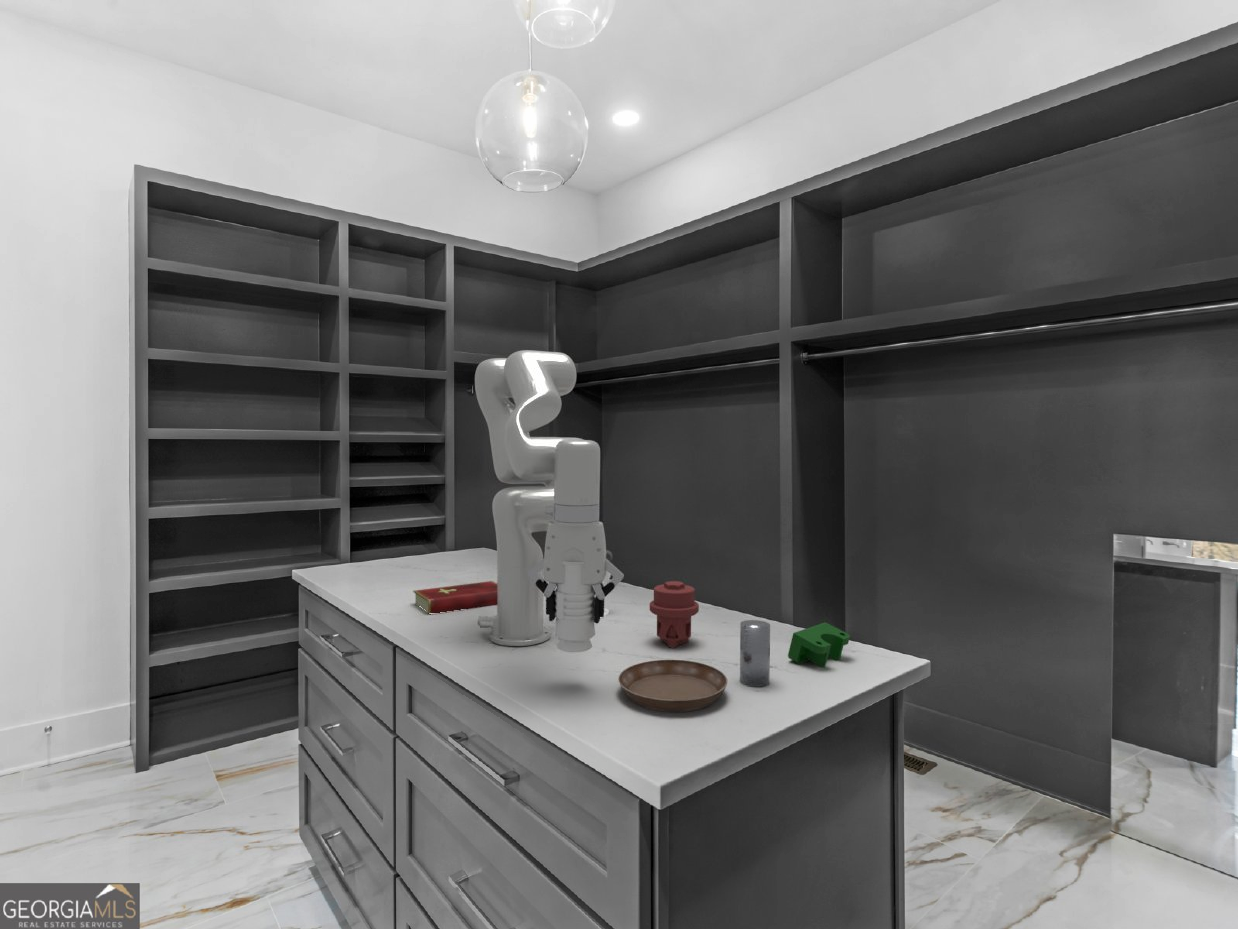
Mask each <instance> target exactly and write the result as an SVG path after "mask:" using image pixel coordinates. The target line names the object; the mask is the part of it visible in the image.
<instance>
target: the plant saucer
mask: <svg viewBox="0 0 1238 929" xmlns="http://www.w3.org/2000/svg"><path fill="white" fill-rule="evenodd" d="M617 680H618V683H619V685H620V687H621V688H622V690H623V691H624V692H625V694H626V695H627V696H628V697H629V698H630V699H631V701H632V702H634V703H636V704H637V705H639V706H641V707H643V708H647V709H650V710H655V711H658V712H659V711H660V712H667V713H668V712H669V713H684V712H685V713H686V712H693V711H697V710H698V711H699V710H701V709H704V708H706V707H708V706H710V705H712V704H713V703H714V702H716V700H718V699H719V698H720V696H721V695H722V694H723V693H724V692H725V689H726V687H727V685H728V678H727V676H726V674H724V672H722V671H721V670H719V669H718V668H715V667H713V666H712V665H708V664H705V663H701V662H697V661H692V660H684V659H655V660H649V661H648V660H647V661H644V662H640V663H637V664H633V665H630V666H629V667H627V668H624V669H623V670H622V671H621V673H619V675H618V679H617Z"/></svg>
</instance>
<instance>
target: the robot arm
mask: <svg viewBox="0 0 1238 929" xmlns="http://www.w3.org/2000/svg"><path fill="white" fill-rule="evenodd" d="M576 369H577V368H576V364H575V362H574V361H573V359H572V358H571V357H570V356H569V355H567V354H566V353H564V352H560V351H559V352H558V351H546V350H545V351H543V350H530V349H529V350H528V349H526V350H525V349H523V350H518V351H515V352H513V353H511V354H510V355H509V356H508V357H507V358H506V357H494V358H489V359H485V360H482V361H481V362H480V363H479V364H478V365H477V367H476V370H475V374H474V388H475V394H476V399H477V402H478V405H479V408H480V410H481V413H482V414H483V416H484V419H485V421H486V424H487V428H488V432H489V433H488V434H489V441H490V448H491V456H492V463H493V469H494V473H495V475H496V478H497V479H498V480H499V481H500V482H501V483H503V484H504V483H505V484H511V485H518V486H510V487H505V488H502V489H501V490H499V491H498V492H497V493H496V494H495V495H494V497H493V499H492V507H491V508H492V517H493V522H494V529H495V538H496V570H497V572H496V574H497V575H496V577H497V578H496V583H497V605H496V606H497V607H496V612H497V613H496V614H495V615H493V616H484V615H483V616H482V615H481V616H478V618H477V625H478V626H479V627H480V629H488V628H490V629H491V631H490V632H489V640H490V641H491V642H492V643H495V644H497V645H501V646H508V647H527V646H533V645H537V644H538V645H539V644H540V643H541V644H542V643H545V642H546V641H548V640H549V639H550V638H551V632H552V631H551V629H550V628H548V627H547V626H544V597H545V615H547V616H548V621H549V622H553V621H555V620H556V616H555V610H556V609H555V604H556V602H555V597H556V595H555V590H556V589H557V584H563V583H565V567H564V566H565V565H564V564H562V561H578V562H585V564H583V565H581V567H582V568H581V570H580V579H581V584H583V585H592V587H593V589H594V591H595V593H596V598H595V600H594V624H599V622H600V620H601V618H600V617H602V618H604V608H605V598H606V597H607V596H608V595H609V594H611V592H612V591H613V590H614V589H615V588H616V587H617V586H618V584H619V583H621V581H622V580H623V579H624V576H625V575H624V573H623V572H622V571H621V570H620V569H619V568H617V566H615V565H614V564H613V563H612V562H611V561H609V560H607V559H606V550H607V546H606V545H607V544H606V543H607V542H606V534H605V528H604V523H603V522H602V521H600V483H601V448H600V445H599V443H598V442H596V441H595V440H591V439H587V440H586V439H583V438H579V437H563V436H562V437H558V436H530V432H532V431H534V430H537V429H538V428H541V427H543V426H546V425H547V424H550V422H553V421H554V420H555V419H556V418H557V417H558V415H559V414H560V412H561V409H562V398H561V397H562V396H565V395H568V394H569V393H570V392H572V391H573V389H574V388H575V385H576V383H577V370H576ZM509 398H512V400H513V402H514V403H513V402H511V401H510V399H509ZM525 484H531V485H529V486H528V485H526V486H525ZM532 484H534V485H532ZM535 484H543V485H541V486H540V485H535ZM519 485H523V486H519ZM538 532H546V535H545V544H544V554H543V550H542V548H541V546H540V545H539V543H538V542H537V541H536V539H535V538H534V537H533V536H532V533H538ZM606 570H607V571H608V572H609V573H610V574H611V576H612V578H611V579H610V581H608V582H607V584H606V585H605V586H604V585H603V583H602V582H603V581H604V578H605V576H606Z"/></svg>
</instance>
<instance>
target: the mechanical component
mask: <svg viewBox="0 0 1238 929" xmlns="http://www.w3.org/2000/svg"><path fill="white" fill-rule="evenodd" d="M695 594H696V590H695V587H693V586H691V585H687V584H684V582H683V581H677V580H676V581H675V580H673V581H665V582H664V584H659V585H656V586H654V587H653V600H651V602H649V611H650V612H651V613H652V615H656V636H657V637H658V638H659V639H660V641H661V640H662V641H661V642H664V643H666V644H667V646H668V648H670V647H675V648H676V647H677V646H679V645H681V644H680V643H682V644H686V643H685V642H687V643H689V641H690V638H691V637H692V616H695V615H697V614H699V612H700V611H699V609H700V608H699V606H700V604H699V603H698V602H697V601H695V600H696V596H695Z"/></svg>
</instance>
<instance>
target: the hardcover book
mask: <svg viewBox="0 0 1238 929" xmlns="http://www.w3.org/2000/svg"><path fill="white" fill-rule="evenodd" d="M412 591H413V593H414V594H415V597H414V598H415V605H416V604H417V605H418V606H421V607H422V608H423V609H425V610H426V611H427V612H428V613H439V614H441V613H440V612H445V613H448V612H447V611H452V612H455V611H454V610H459V611H462V610H461V609H466V610H470V609H471V610H473V609H479V608H485V607H491V606H492V607H493V606H497V582H495V581H494V580H489V581H482V582H481V581H480V582H471V583H464V584H455V585H448V586H440V587H433V588H432V587H431V588H424V589H417V590H416V589H415V590H412ZM417 605H416V606H417ZM418 606H417V607H418ZM423 609H422V610H423ZM426 611H425V612H426ZM427 612H426V613H427ZM428 613H427V614H428Z"/></svg>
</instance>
